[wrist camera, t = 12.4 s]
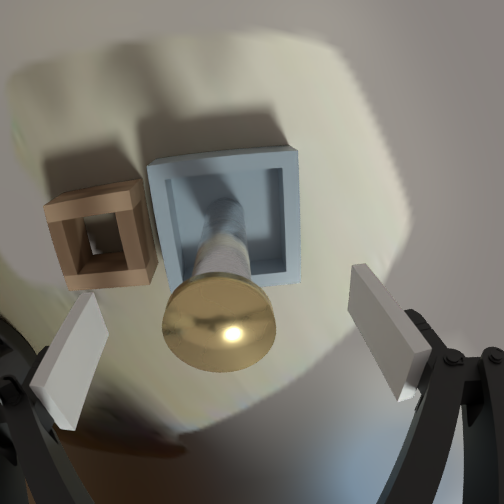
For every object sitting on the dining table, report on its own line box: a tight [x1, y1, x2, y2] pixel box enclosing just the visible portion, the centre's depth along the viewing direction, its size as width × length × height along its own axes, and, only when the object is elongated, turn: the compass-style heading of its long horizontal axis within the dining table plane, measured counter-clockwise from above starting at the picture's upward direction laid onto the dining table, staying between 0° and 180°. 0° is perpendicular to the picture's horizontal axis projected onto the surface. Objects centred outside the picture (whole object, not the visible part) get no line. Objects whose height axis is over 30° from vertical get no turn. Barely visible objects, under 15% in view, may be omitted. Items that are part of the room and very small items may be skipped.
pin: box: [162, 198, 276, 372], centre depth 20 cm, size 5×5×15 cm
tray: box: [147, 145, 301, 294], centre depth 26 cm, size 11×11×4 cm
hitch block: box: [43, 179, 158, 291], centre depth 26 cm, size 8×8×4 cm
